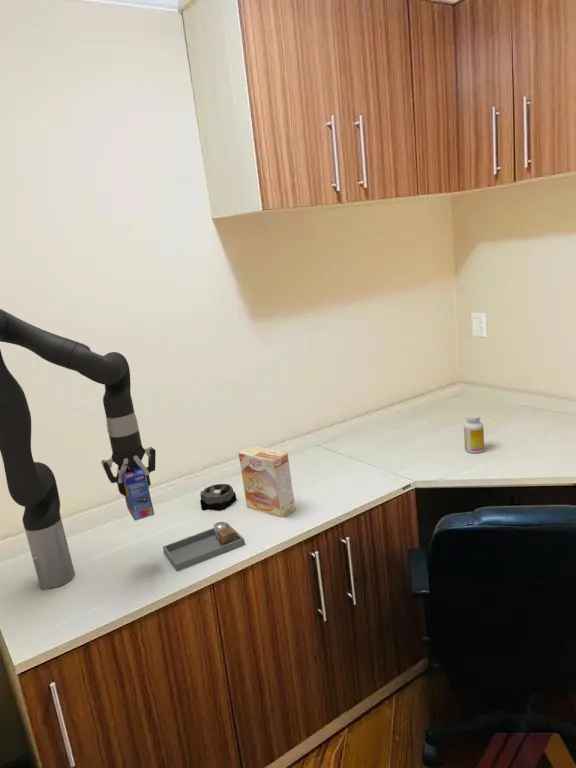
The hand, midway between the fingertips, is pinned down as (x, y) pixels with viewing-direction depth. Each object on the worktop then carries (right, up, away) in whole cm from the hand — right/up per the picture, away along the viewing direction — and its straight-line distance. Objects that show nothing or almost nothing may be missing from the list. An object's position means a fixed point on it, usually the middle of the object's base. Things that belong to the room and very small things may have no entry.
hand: (135, 490), depth 154 cm
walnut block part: (+23, -17, +12) cm, 31 cm away
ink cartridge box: (+1, -6, +2) cm, 6 cm away
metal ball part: (+21, -16, +17) cm, 31 cm away
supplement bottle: (+107, +4, +56) cm, 120 cm away
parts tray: (+16, -19, +12) cm, 28 cm away
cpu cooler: (+18, -12, +39) cm, 44 cm away
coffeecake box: (+35, -12, +31) cm, 48 cm away
